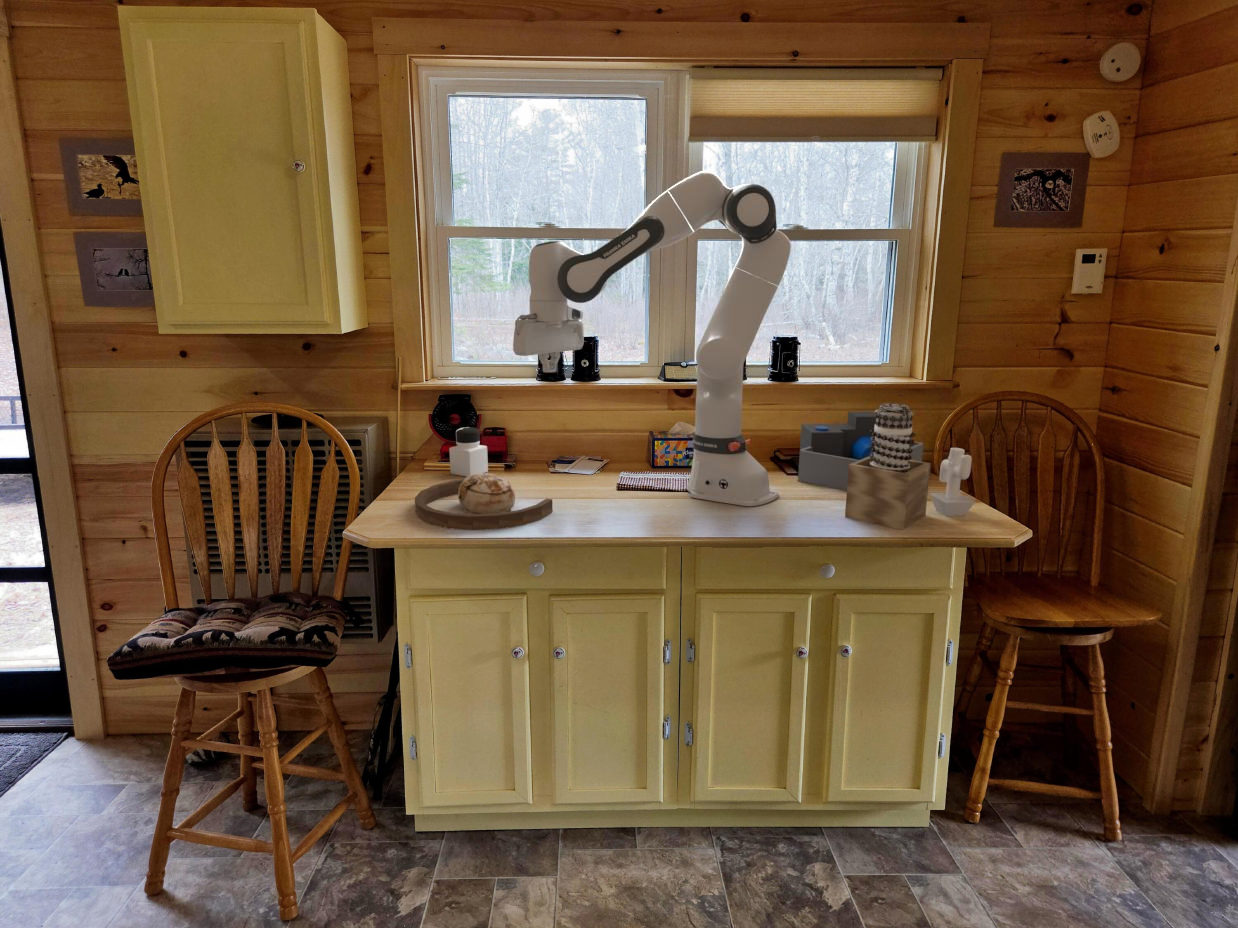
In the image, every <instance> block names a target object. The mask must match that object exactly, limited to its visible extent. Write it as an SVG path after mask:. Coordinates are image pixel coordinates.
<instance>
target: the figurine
mask: <svg viewBox="0 0 1238 928" xmlns="http://www.w3.org/2000/svg"><path fill="white" fill-rule="evenodd" d="M972 461H973V459H972V456H971V455H970V454H965V449H963V448H962V447H961V448H959V447H951V448H950V451H949V454H948V457H947V458H946V459H943V460H942V461H941V463H940V468H939V469H940V470H939V481H940V482H941V483H946V489H945V492H934V493H929V492H928V496H929V497H930V499H931V502H932V504H933V506H934V508H935V511H937V512H938V513H940V514H941V515H943V516H945V517H961V516H965V515H966V514H968V512H969V511H970V509H971V508H972V507H973V506H974V504H975V503H976V500H975V499H974V500H973V498H970V497H968V496H967V495H964V494H963V493H961V492H960V489H961V488H960V487H961V481H962V480H967V479H968V478H969V476H970V474H971V471H972V470H971V469H972Z"/></svg>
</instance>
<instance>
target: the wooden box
mask: <svg viewBox="0 0 1238 928" xmlns="http://www.w3.org/2000/svg"><path fill="white" fill-rule="evenodd" d="M870 460H871V458H870V456H868V457H866V458H863V459H861V460H859V461H856V462H854V463H851V464H849V470H848V483H847V491H846V499H845V512H844V518H849V519H854V520H856V521H857V520H858V521H861V522H866V523H872V524H874V525H876V524H877V525H880V526H884V527H888V528H892V529H898V530H904V529H905V528H907V527H909V526H911V525H912V524H914V523H915V522H917V521H918V520H920V519H922V518H924V517H925V516H926V515H927V513H926V512H927V504H928V496H929V484H930V483H929V482H930V475H931V467H932V463H931V462H925V461H922V462H920V461H914V460H909V461H908V463H909V464H910V468H908V469H907V472H906V473H901V472H895V471H890V470H884V469H878V468H873V467H872V466H871V465H870Z"/></svg>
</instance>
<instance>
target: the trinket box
mask: <svg viewBox="0 0 1238 928" xmlns="http://www.w3.org/2000/svg"><path fill="white" fill-rule="evenodd" d="M463 479H464V481H463V482H462V483H461V485H460V487H459V490H458V494H457V499H458V501H459V504H460V505H462V506H463V509H464V510H465V512H466V513H467V514H493V513H503V512H509V511H512V509H513V507H514V506H515V502H516V494H515V489H514V487H513V486H512V485H511V483H510V481H508V480H506V479H505V478H503V477H501V476H499V475H497V474H494V473H491V472H490V473H489V472H486V473H477V474H473V475H470V476H468V477H465V478H463Z"/></svg>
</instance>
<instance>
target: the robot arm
mask: <svg viewBox="0 0 1238 928" xmlns="http://www.w3.org/2000/svg"><path fill="white" fill-rule="evenodd" d="M776 208H777V207H776V202H775V199H774V197H773V195H772V193H771V192H770V191H769V190H768V189H767V188H766V187H764V186H762V185H760V184H756V183H746V184H741V185H738V186H734V187H733V186H732V187H727V186H726V185H725V183H724V182H723V181H722V179H721V178H720V177H719V176H718V175H717V174H716V173H714V172H712V171H710V170H702V171H699V172H696V173H694V174H692V175H690V176H688V177H685V178H684V179H683V180H681V181H679V182H678V183H675V184H674V185H672V186H671V187H669V188H668V189H667V190H665V191H664V192H663V193H661V194H660V195H658V197H656V198H655V199H654V200H652V201H651V203H650V204H648V205H647V207H645V209H644V210H643V211H642V212H641V213H640V214H639V215H638V217H637V218H636V219H635V220H634V221H633V223H632V224H630V226H628V228H626V229H625V230H624V231H622V232H621V233H620V234H618V235H616V236H615V237H614V238H612V239H611V240H609V241H608V242H607V243H605V244H603V245H602V246H601V247H599V248H597V249H596V250H594V251H592V252H589V253H586V254H584V253H582V252H580V251H577V250H575V249H573V248H572V247H570V246H568V245H567V244H566V243H565V242H563V241H562V240H553V241H551V240H550V241H545V242H541V243H537V244H535V245H534V246H533V248H532V249H531V251H530V255H529V260H528V282H529V283H528V284H529V286H530V294H529V299H528V300H529V313H528V314H520V315H519V316H518V317H517V318H516V320H515V321H514V331H513V342H512V351H513V352H514V354H515V356H522V357H527V356H528V357H529V356H535V355H537V356H538V359H539V361H540V364H542V372H543V373H552V372H553V373H554V372H557V365H558V362H559V360H560V358H561V353H562V352H569V351H577V350H578V351H579V350H582V348H583V346H584V342H585V340H584V339H585V338H584V337H585V336H584V333H585V332H584V331H585V330H584V324H583V321H582V320H583V317H584V312H583V310H582V309H580V308H577V307H574V306H571V305H569V304H568V300H569V301H571V302H574V303H578V304H583V303H587V302H590V301H592V300H594V299H595V298H596V297H597V296H598V295H599V294H601V293H602V292H603V291H604V289H605V288H606V285H607V282H608V280H609V279H610V278H611V276H614V275H615V274H616V273H617V272H619V271H620V270H621V269H623V268H625V267H626V266H627V265H629V264H630V263H631V262H633V261H634V260H636V259H637V258H639V257H641V256H643V255H644V254H646V253H647V254H648V253H649V252H652V251H656V250H659V249H660V250H661V249H664V248H668V247H669V246H672V245H674V244H676V243H679V242H681V241H682V240H684V239H687V238H688V237H689V236H691V235H693V234H694V233H695V232H696V231H698V230H699V229H700V228H702V227H703V226H705V225H707V224H709V223H711V222H714V221H718V222H719V223H720V224H721V225H723V226H724V227H725V228H726V229H727V230H729V231H730V232H731V233H733V234H735V235H737V236H740V238H741V243H742V247H741V251H740V255H739V256H738V259H737V261H736V263H735V264H734V267H733V270H732V271H731V274H730V276H729V278H728V279H727V282H726V285H725V287H724V289H723V291H722V293H721V296H720V298H719V299H718V302H717V305H716V307H715V309H714V311H713V314H712V316H711V318H710V320H709V323H708V325H707V327H706V329H705V331H704V333H703V336H702V337H701V340H700V341H699V342H700V343H699V344H698V346H697V349H696V353H695V361H696V365H697V373H696V374H697V375H696V377H697V378H696V393H695V394H696V395H695V415H694V416H695V419H694V420H695V424H694V432H693V435H692V450H693V457H692V465H691V472H690V477H689V480H688V482H687V486H686V490H687V491H688V493H690V497H691V498H694V499H698V500H699V499H700V500H705V501H712V502H717V503H725V504H729V505H737V506H743V507H754V506H755V507H756V506H761V505H766V504H768V503H770V502H772V501H774V500H776V499H778V497H779V491H778V490H777V489H773V488H771V487H770V479H769V473H768V471H767V469H766V468H765V467H764V466H763V465H762V464H761V463H760V462H758V460H757V459H756V458H755V457H753V455H751V454H750V453H749V451H747V446H746V445H749V444H751V442H750V441H751V439H750V438H748V439H744V436H743V434H742V415H743V413H742V412H743V389H744V387H743V384H744V383H743V382H744V363H745V361H746V359H747V356H748V354H749V352H750V350H751V347H752V346H753V344H754V343H753V342H754V341H755V339H756V337H757V334H758V332H759V329H760V327H761V325H762V322H763V320H764V318H765V315H766V314H767V311H768V309H769V307H770V304H771V303H772V300H773V298H774V297H775V294H776V292H777V290H778V288H779V286H780V284H781V282H782V279H783V277H784V273H785V271H786V269H787V265H788V262H789V260H790V256H791V251H792V243H791V241H790V239H789V238H788V237H787V235H786V234H784V232H782V231H781V230H778V226H777V209H776ZM549 358H550V359H549Z"/></svg>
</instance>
